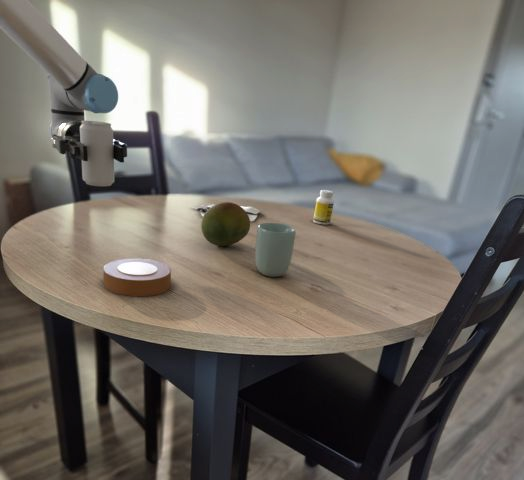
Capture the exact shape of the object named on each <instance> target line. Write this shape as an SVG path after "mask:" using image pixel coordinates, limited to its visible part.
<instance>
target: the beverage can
mask: <svg viewBox="0 0 524 480" xmlns="http://www.w3.org/2000/svg"><path fill="white" fill-rule="evenodd" d="M81 122H82V125H81V126H80V142H81V143H82V144H84V145H86V146H87V156H88V161H83V160H82V159H81V175H82V177H81V178H82V181H83V182H85V184H86V185H89V186H94V187H110V186H112V184H114V183H115V159H114V142H113V139H114V130H113V128H112V123H110V122H105V121H98V120H85V121H81Z"/></svg>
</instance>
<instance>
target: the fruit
mask: <svg viewBox="0 0 524 480" xmlns="http://www.w3.org/2000/svg"><path fill="white" fill-rule="evenodd" d="M213 205H214V206H213V207H211V208H210V209H208V210H207V211H206V213H205V214H204V216H202V219H201V222H200V228H201V229H200V230H201V232H202V235H203V237H204V238H205V240H206V241H207V242H209V243H210V244H212V245H214V246H218V247H228V246H232V245H235V244H237V243H239V242H240V241H242V240H243V239H244V238H246V236H247V235H248V233H249V232H250V229H251V221H250V219H249V216H248V214H247V213H246V212H245V210H244V209H243V208H242V207H240V206H241V205H238V204H237V203H235V202H231V201H222V202H219V203H216V205H215V204H213Z"/></svg>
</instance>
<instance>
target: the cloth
mask: <svg viewBox="0 0 524 480" xmlns="http://www.w3.org/2000/svg"><path fill="white" fill-rule="evenodd" d="M216 204H217V203H216ZM216 204H201V205H194V206H193V209H194V210H195V211H200V215H201V216H202V217H203V216H204V214H205V213H206V211H207V210H208V209H210V208H211V207H213V206H214V205H216ZM239 206H240V207H242V208H243V209H244V210H245V212H246V213H247V214H248V216H249V219H250V222H254V221H255V220H256V219H257V218H258V214H260V213H261V210H260V209H258V208H255V207H253V206H243V205H239Z"/></svg>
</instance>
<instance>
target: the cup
mask: <svg viewBox="0 0 524 480" xmlns="http://www.w3.org/2000/svg"><path fill="white" fill-rule="evenodd" d="M295 240H296V229H295V228H294V227H293V226H290V225H288V224H285V223H277V222H263V223H259V224H258V225H257V230H256V239H255V252H254V258H255V259H254V261H255V266H256V269H257V271H258V272H259V274H262V275H263V276H265V277H270V278H278V277H282V276H284V275H286V273H287V272H288V270H289V269H290V266H291V263H292V260H293V254H294V247H295Z"/></svg>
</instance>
